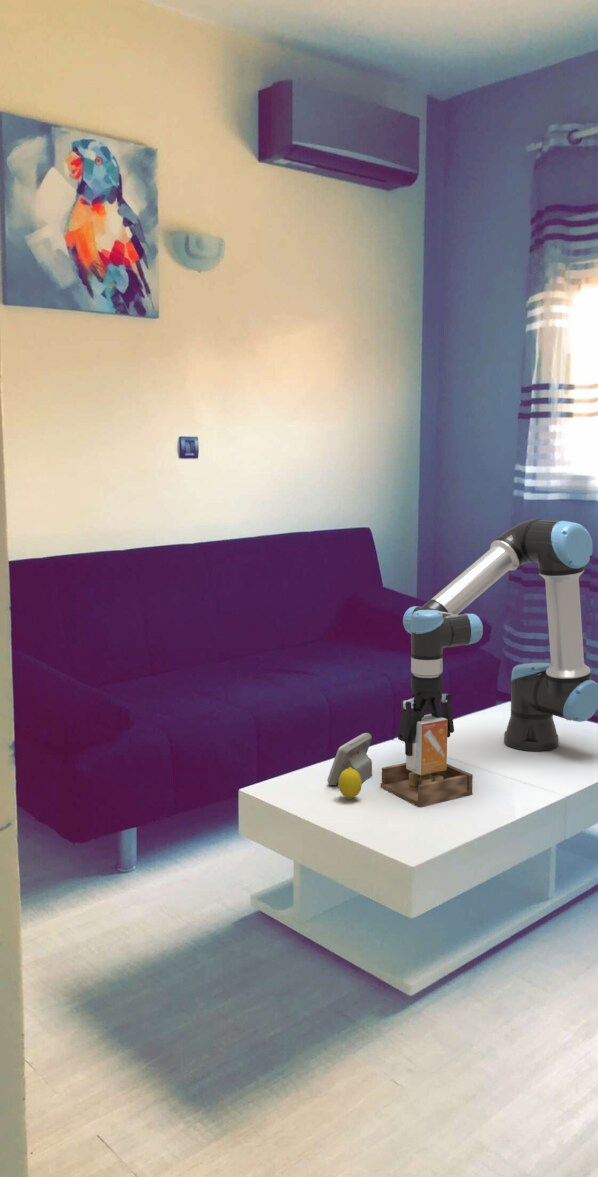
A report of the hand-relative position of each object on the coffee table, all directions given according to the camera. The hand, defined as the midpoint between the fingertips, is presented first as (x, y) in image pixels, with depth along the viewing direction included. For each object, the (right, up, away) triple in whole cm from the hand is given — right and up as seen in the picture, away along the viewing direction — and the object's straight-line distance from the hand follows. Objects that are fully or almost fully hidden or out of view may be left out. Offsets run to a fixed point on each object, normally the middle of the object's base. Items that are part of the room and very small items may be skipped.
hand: (426, 764), depth 237 cm
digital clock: (-18, -6, +11) cm, 22 cm away
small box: (0, -1, 0) cm, 1 cm away
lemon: (-19, -8, -4) cm, 21 cm away
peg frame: (0, -7, +1) cm, 7 cm away
